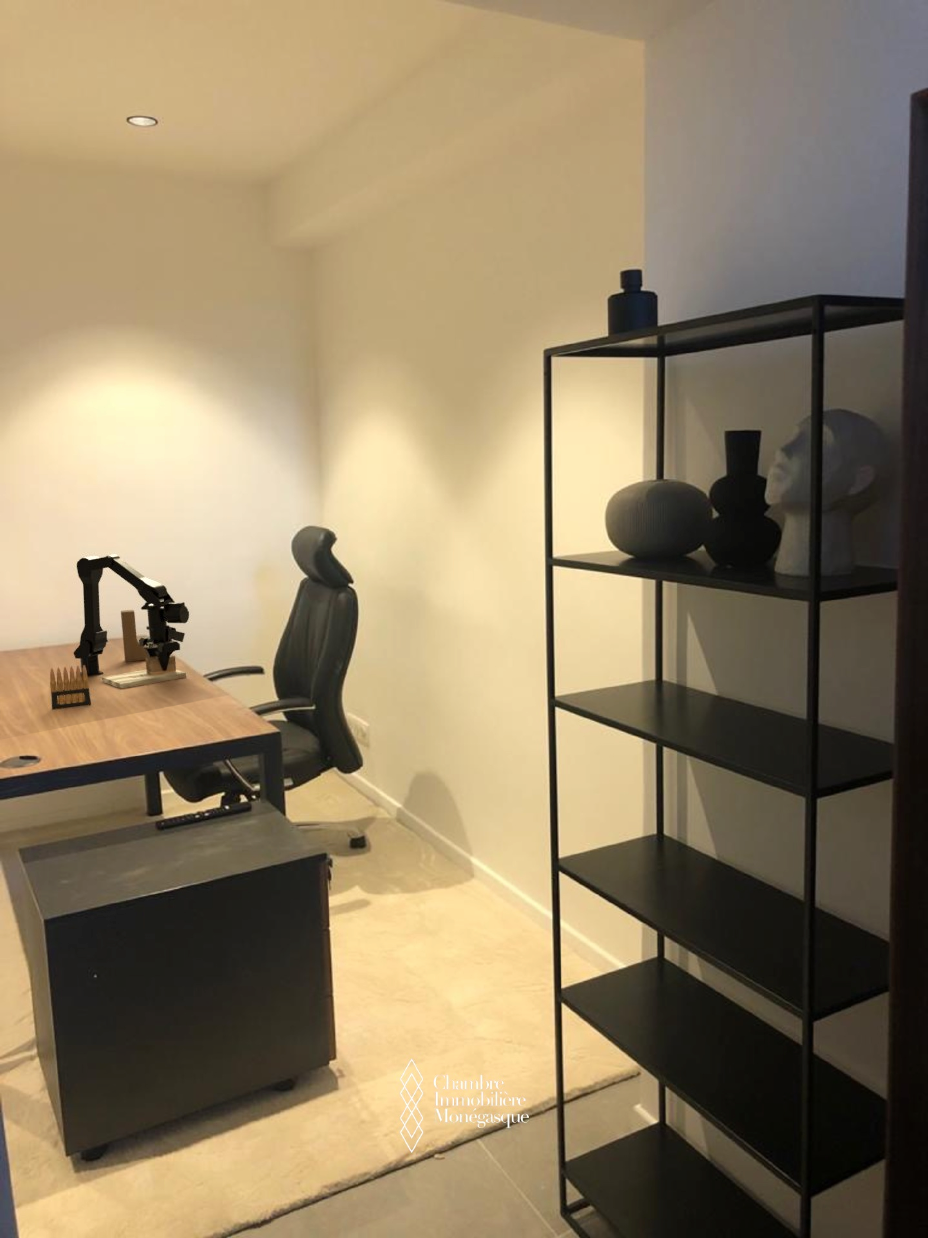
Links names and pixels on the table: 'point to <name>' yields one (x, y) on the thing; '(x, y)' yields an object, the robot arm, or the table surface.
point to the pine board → (140, 678)
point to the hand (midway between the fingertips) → (161, 669)
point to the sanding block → (155, 667)
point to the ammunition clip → (69, 689)
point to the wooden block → (131, 638)
